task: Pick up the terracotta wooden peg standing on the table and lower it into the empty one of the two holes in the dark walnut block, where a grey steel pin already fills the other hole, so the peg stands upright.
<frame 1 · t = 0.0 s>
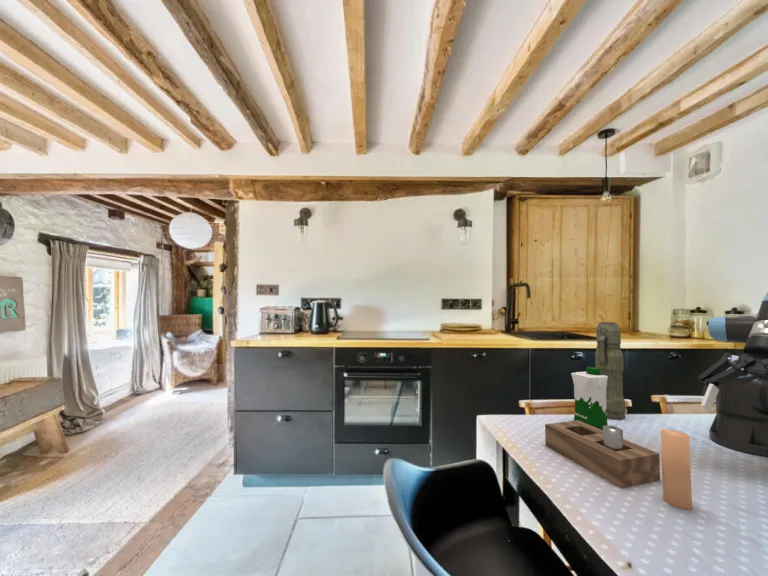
hand: (741, 417, 74), 15 cm above the table, tool tilted 35°, fingers open, 13 cm apart
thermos: (610, 416, 119), on the table
milk carton: (590, 428, 107), on the table
peg: (677, 507, 65), on the table
steel pin: (613, 469, 78), point 1 cm above the table, touching hole block
hole block: (596, 464, 82), on the table
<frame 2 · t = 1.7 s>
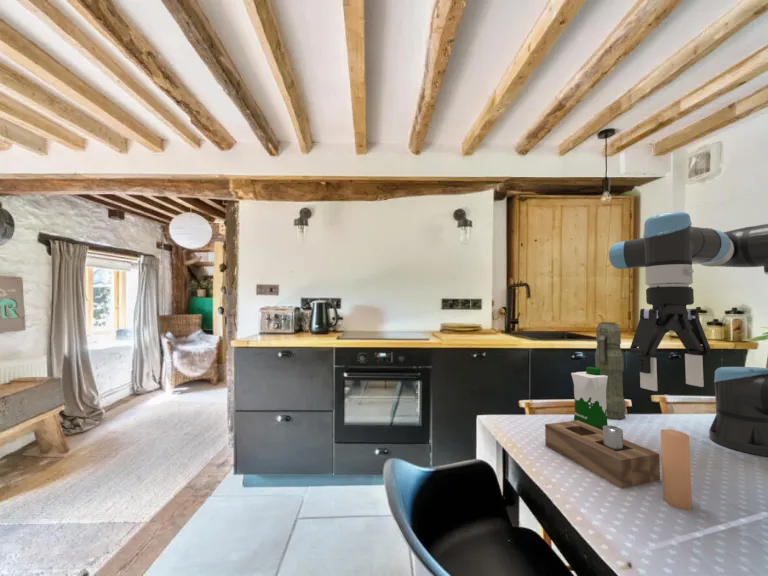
hand: (672, 387, 66), 24 cm above the table, tool pointing down, fingers open, 13 cm apart
nothing on the table moved.
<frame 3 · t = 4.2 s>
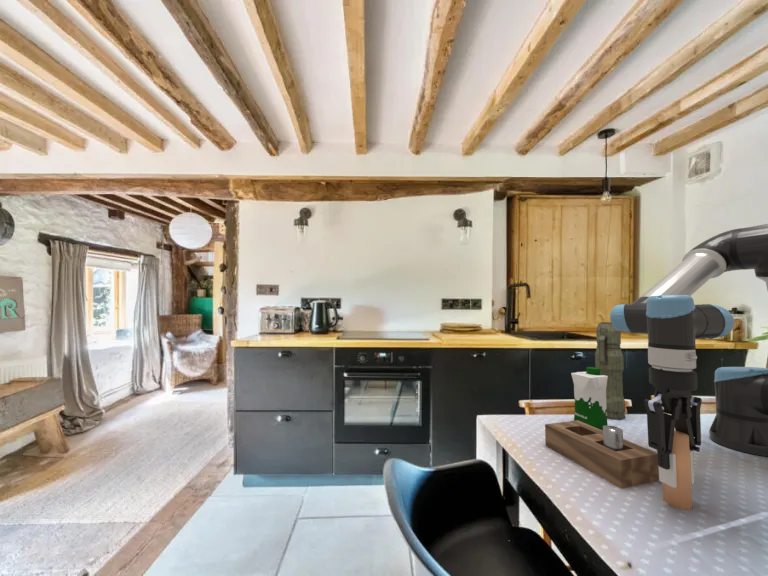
hand: (676, 481, 65), 5 cm above the table, tool pointing down, fingers closed on peg, 4 cm apart
peg: (677, 507, 65), on the table, touching gripper
everything else where it was.
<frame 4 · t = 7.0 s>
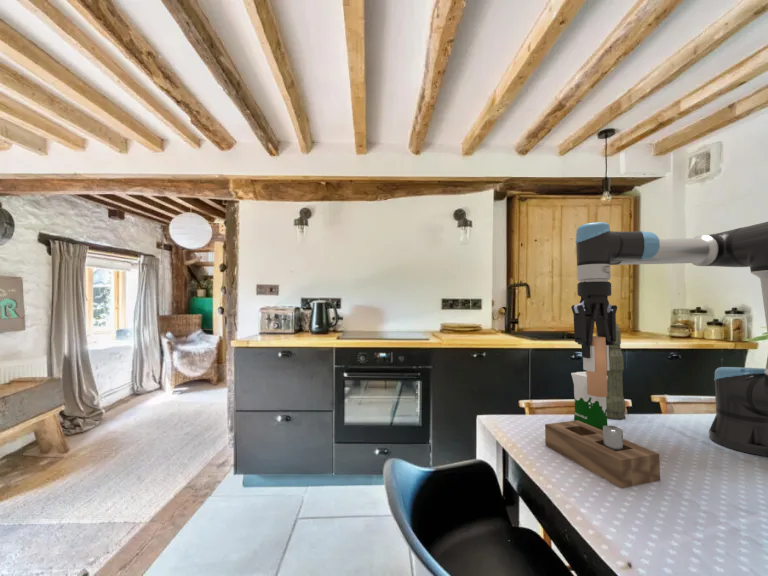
hand: (596, 369, 83), 25 cm above the table, tool pointing down, fingers closed on peg, 4 cm apart
peg: (597, 394, 82), point 18 cm above the table, touching gripper
everything else where it was.
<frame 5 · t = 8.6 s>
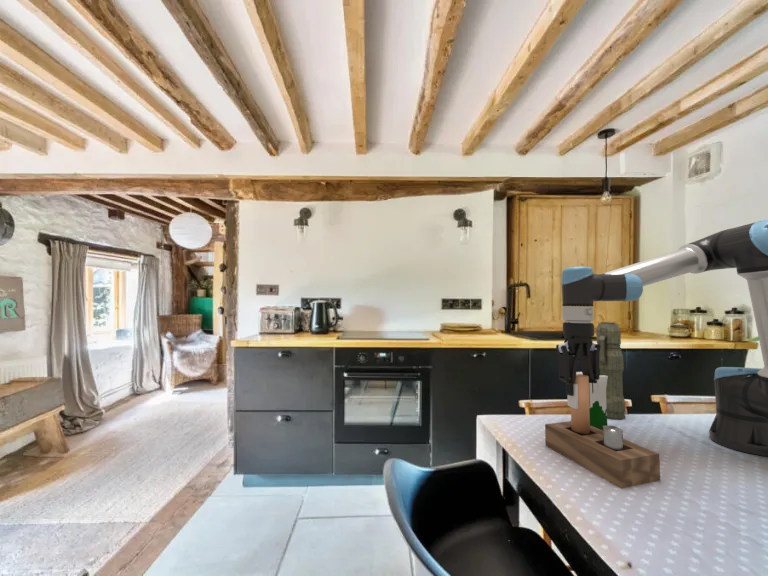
hand: (580, 406, 87), 14 cm above the table, tool pointing down, fingers closed on peg, 4 cm apart
peg: (580, 430, 87), point 7 cm above the table, touching gripper
everything else where it was.
when the fingers open (9 cm above the table, at t = 9.9 s): peg drops 1 cm, resting on hole block.
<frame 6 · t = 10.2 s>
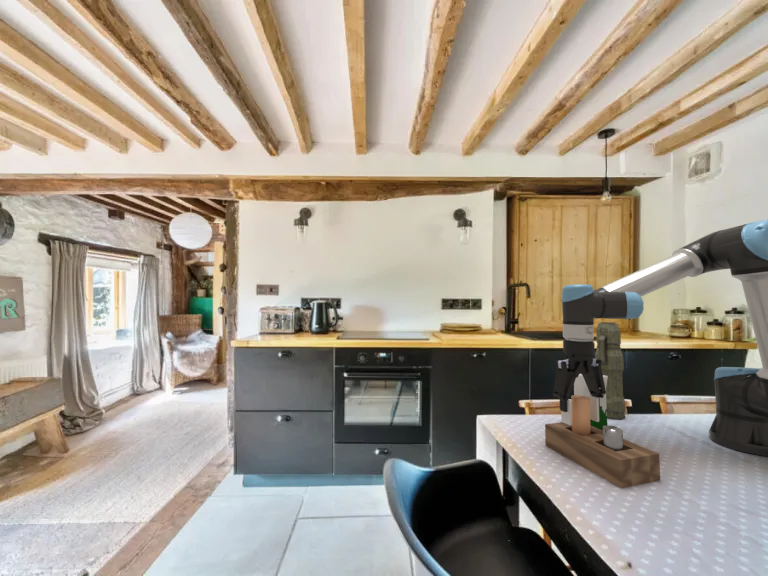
hand: (580, 421, 87), 9 cm above the table, tool pointing down, fingers open, 9 cm apart
peg: (581, 452, 87), point 1 cm above the table, touching hole block
everything else where it was.
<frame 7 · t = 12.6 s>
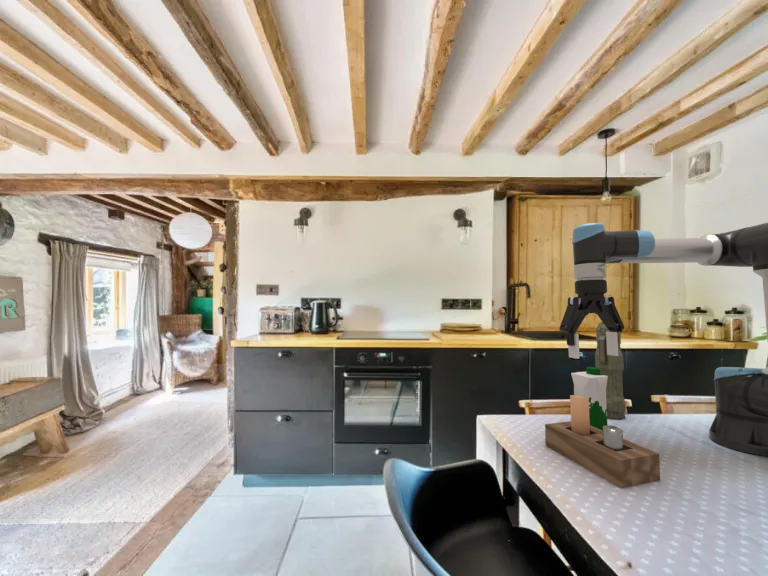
hand: (593, 356, 87), 27 cm above the table, tool pointing down, fingers open, 13 cm apart
nothing on the table moved.
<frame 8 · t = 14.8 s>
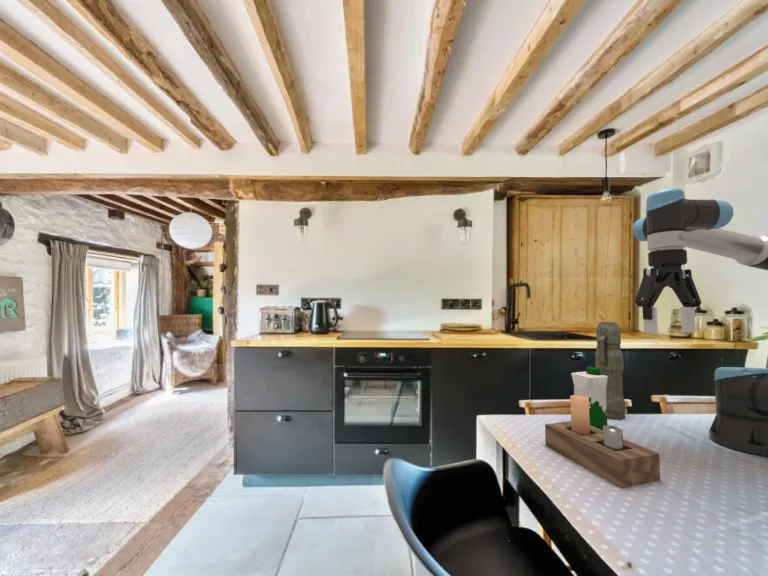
hand: (670, 332, 81), 35 cm above the table, tool pointing down, fingers open, 13 cm apart
nothing on the table moved.
at the end: peg 0.1 cm from the target spot on the hole block, point 1.0 cm above the hole block's base; peg tilted 1°; the gripper is holding nothing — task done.
